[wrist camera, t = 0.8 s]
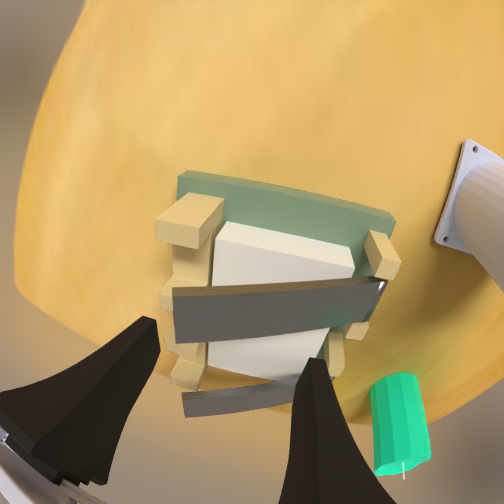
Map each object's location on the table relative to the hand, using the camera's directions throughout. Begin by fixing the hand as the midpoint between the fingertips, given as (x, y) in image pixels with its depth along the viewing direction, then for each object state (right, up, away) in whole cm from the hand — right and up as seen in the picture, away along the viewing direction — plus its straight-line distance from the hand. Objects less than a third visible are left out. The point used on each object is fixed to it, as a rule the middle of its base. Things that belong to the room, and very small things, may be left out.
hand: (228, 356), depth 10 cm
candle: (+17, -11, +15) cm, 26 cm away
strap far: (+2, -6, +8) cm, 10 cm away
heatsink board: (+2, +1, +11) cm, 11 cm away
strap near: (+3, +2, +3) cm, 5 cm away
